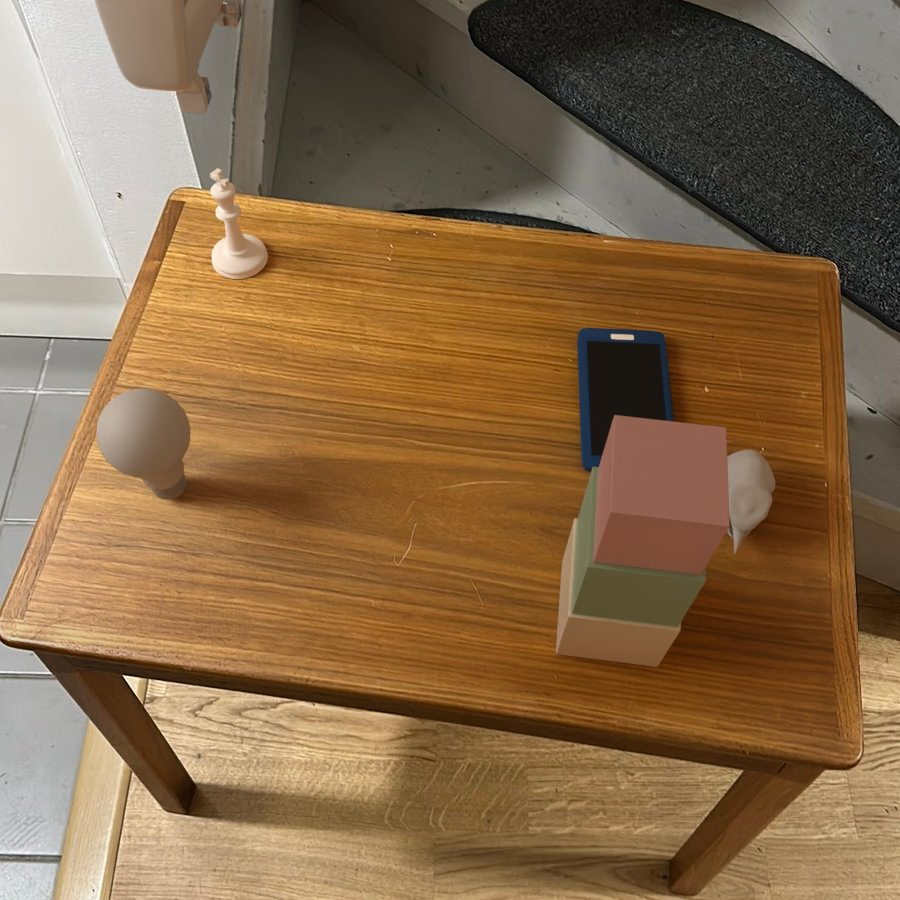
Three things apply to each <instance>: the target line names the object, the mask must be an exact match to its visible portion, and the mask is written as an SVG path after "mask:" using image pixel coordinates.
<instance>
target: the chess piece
mask: <svg viewBox="0 0 900 900" xmlns="http://www.w3.org/2000/svg"><path fill="white" fill-rule="evenodd" d="M209 176H210V179H212V180H213V181H216V182H215V183H214V184H213V185H212V186H211V187H210V195H211V197H212V198H213V199H214V201H215V202H216V203H217V204H218V205H217V207H216V208H215V216H216V218H217V219H218V220H220V221H222V222H224V223H223V224H224V229H225V231H224V232H225V236H224V237H223V238H221V239H220V240H219V241H217V243H216V244H215V245H214V246H213V248H212V251H211V265H212V267H213V269H214V271H215V272H216V273H217V274H219V275H220V276H222V277H224V278H227V279H232V280H243V279H247V278H250V277H253V276H255V275H257V274H258V273H260V272H261V271H262V270H263V269H264V268H265V267H266V265H267V263H268V260H269V254H268V250H267V248H266V246H265V244H264V242H263V241H262V240H261V239H260V238H259V237H257V236H255V235H253V234H249V233H243V232H242V229H241V227H240V225H239V222H238V219H239V218H240V216H241V214H242V208H241V207H240V205H239V204H238V203H236V202H235V196H236V186H235V185H234V184H233V183H232V182H230V179H229V178H227V177H225V176H224V174H223V170H222V169H220V168H216V169H214V170H212V172H210V173H209Z"/></svg>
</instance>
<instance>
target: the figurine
mask: <svg viewBox="0 0 900 900" xmlns="http://www.w3.org/2000/svg"><path fill="white" fill-rule="evenodd" d="M727 464H728V491H729V518H730V527H729V528H728V530H727V532H726V533H727V535H728V536H729V537H730V538H732V539H733V555H736V554H737V552H738V551H739V548H740V546H741V543H742V541H743V539H744V538H745V537H747V536H748V535H749V534H750V533H751V531H752V530H754V529H755V528H757V526H758V525H760V523H761V522H763V521H764V520H765V519H766V518H767V516H768V515H769V510H770V508H771V506H772V503H773V496H772V493H773V492H774V491H775V489H776V478H775V476H774V473H773V471H772V468H771V466H770V464H769V463H768V462H767V460H766V458H765V457H764V456H763V455H762V454H761V453H760V452H759V451H757V450H754V449H750V448H749V449H742V450H739V451H736V452H733V453H731V454H729V455H727Z"/></svg>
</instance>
